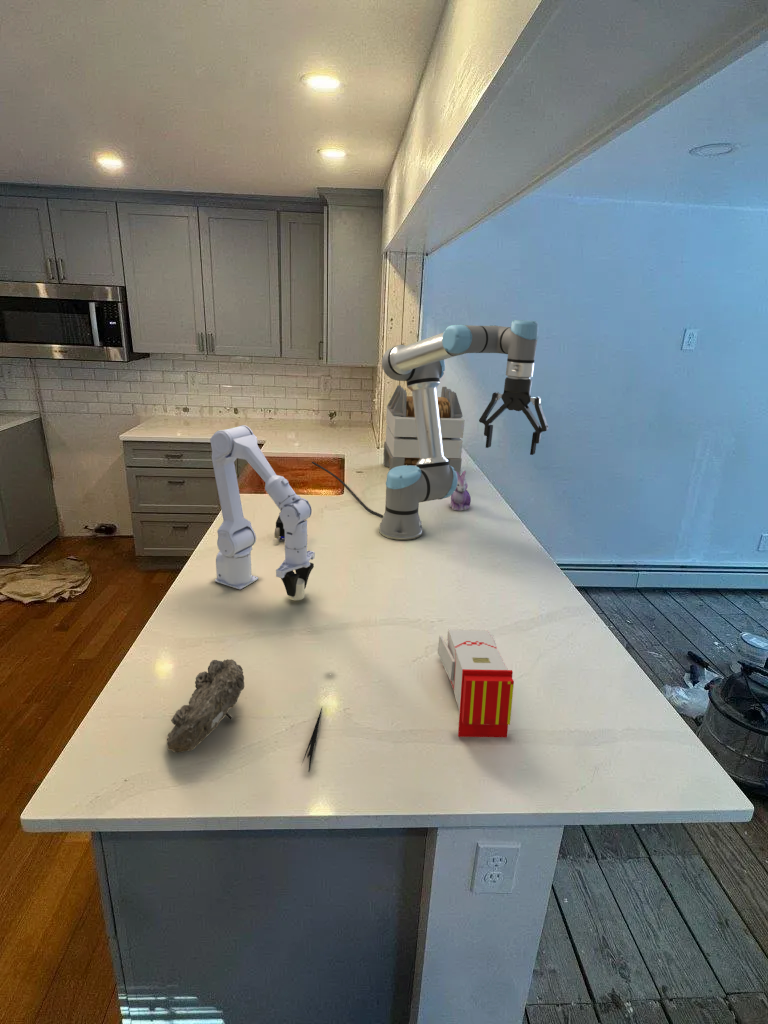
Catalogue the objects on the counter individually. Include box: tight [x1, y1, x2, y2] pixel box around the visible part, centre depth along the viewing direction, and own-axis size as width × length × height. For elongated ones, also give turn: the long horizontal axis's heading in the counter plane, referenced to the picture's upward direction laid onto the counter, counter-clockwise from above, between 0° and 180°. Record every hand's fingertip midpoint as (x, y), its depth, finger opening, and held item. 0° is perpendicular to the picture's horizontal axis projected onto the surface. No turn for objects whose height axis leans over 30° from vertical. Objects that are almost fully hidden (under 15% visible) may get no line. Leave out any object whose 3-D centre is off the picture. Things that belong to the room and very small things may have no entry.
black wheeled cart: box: [273, 515, 285, 543], centre depth 192 cm, size 7×8×15 cm
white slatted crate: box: [383, 384, 465, 476], centre depth 268 cm, size 34×33×41 cm
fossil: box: [166, 658, 245, 754], centre depth 106 cm, size 22×10×15 cm
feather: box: [301, 673, 332, 771], centre depth 108 cm, size 2×28×2 cm
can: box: [287, 578, 306, 601], centre depth 151 cm, size 4×4×4 cm
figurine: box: [449, 470, 472, 511], centre depth 227 cm, size 9×10×15 cm
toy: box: [437, 628, 515, 738], centre depth 117 cm, size 12×13×30 cm
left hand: (296, 591), depth 152 cm, fingers closed on can, 4 cm apart
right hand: (509, 450), depth 168 cm, fingers open, 13 cm apart
